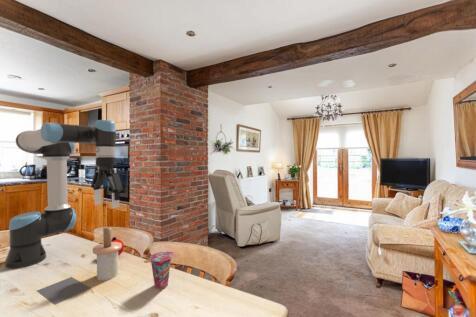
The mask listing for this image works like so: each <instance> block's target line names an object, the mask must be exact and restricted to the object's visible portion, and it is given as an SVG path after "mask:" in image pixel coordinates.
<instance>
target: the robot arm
mask: <svg viewBox="0 0 476 317" xmlns="http://www.w3.org/2000/svg"><path fill="white" fill-rule="evenodd" d="M116 132H117V128H116V123H115V121H113V120H110V119H109V120H108V119H98V120H96V121H95V124H94V126H93V125H91V126H90V125H79V124H66V123H57V122H44V123H43V124H42V126H41V127H40V128H39V129H36V130H24V131H21V132H20V133H19V134H17V136H16V138H15V144H16V147H17V148H18V149H20V150H21V151H24V152H25V153H29V154H34V155H35V154H37V155H42V158H43V159H44V160H45V161H46V179H47V182H46V184H47V185H46V186H47V206H46V207H45V208H44V209H43V210H44V211H43V213H42V212H41V211H30V212H25V213H21V214H17V215H15V216H14V217H12V218H11V219H10V220H9V227H8V230H9V233H8V234H9V249H8V250H9V251H8V252H7V255H6V258H5V261H4V266H5V268H7V269H19V268H26V267H29V266H33V265H36V264H38V263H41V262H43V261H44V260H45V259H46V258H47V252H46V249H45V247H44V246H43V243H42V237H45V236H46V237H47V236H49V235H54V234H58V233H63V232H66V231H70V230H72V229H73V228H74V226H75V224H76V222H77V213H76V210H75V209H74V208H72V206H71V205H70V204H69V202H68V198H69V197H68V165H67V164H68V161H67V160H69V159H70V158H71V155H72V154H73V153H74V152H75V144H89V145H90V144H91V145H92V144H95V149H94V150H95V156H96V157H95V166H96V167H94V174H93V178H92V181H91V185H90V188H91V189H92V190H93V194H94V196H93V197H94V198H93V199H94V201H93V203H94V204H93V205H95V206H97V205H101V204H102V202H103V201H102V200H103V199H102V185H103V183H104V181H105V180H106V181H108V184H109V185H110V188H111V190H112V191H111V209H118V208H120V193H121V192H123V190H124V188H123V184H122V182H121V181H122V180H121V178H120V173H119V169H118V168H117V167H115V168H114V166H116V164H117V162H116V160H117V158H116V157H115V156H117V151H116V150H117V148H116V141H117V140H116V137H117V136H116V134H117V133H116Z"/></svg>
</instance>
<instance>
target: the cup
mask: <svg viewBox="0 0 476 317" xmlns="http://www.w3.org/2000/svg"><path fill="white" fill-rule="evenodd" d="M174 254H175V253H174V251H160V252H156V253H154V254H152V255H150V256H149V259H150V265H151V268H152V275H153V276H152V277H153V278H152V279H153V283H154V288H155V289H156V290H157V289H158V290H162V289H165V288H166V287H168V285H169V279H170V270H171V263H172V262H171V261H172V256H174Z"/></svg>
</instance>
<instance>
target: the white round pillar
mask: <svg viewBox="0 0 476 317" xmlns="http://www.w3.org/2000/svg"><path fill="white" fill-rule="evenodd" d="M119 274H120V273H119V256H118V251H116V252H114V253H110V254H104V255H97V254H96V278H97V280H98V281H109V280H112V279H115V278H116V277H117V276H118V275H119Z"/></svg>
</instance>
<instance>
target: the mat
mask: <svg viewBox="0 0 476 317" xmlns="http://www.w3.org/2000/svg"><path fill="white" fill-rule="evenodd" d="M90 289H91V287H90V286H88V285H87V284H84V283H83V282H81V281H79V280H77V279H76V278H74V277H73V276H70V277H68V278H65V279H63V280H61V281H57V282H55V283H53V284H50V285H47V286H44V287H42V288H40V289H36V292H37V293H39V294H40V295H41V296H43V297H44V298H46V299H47V300H48V301H49V302H51V303H52V304H53V305H58V304H60V303H62V302H65V301H66V300H68V299H71V298H73V297H75V296H77V295H79V294H82V293H83V292H86V291H88V290H90Z"/></svg>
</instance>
